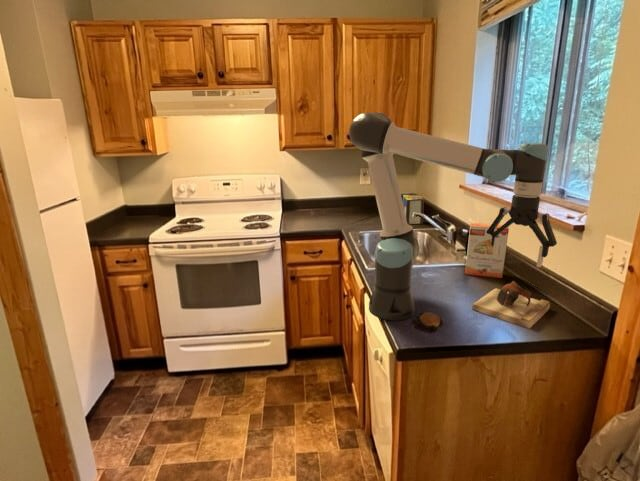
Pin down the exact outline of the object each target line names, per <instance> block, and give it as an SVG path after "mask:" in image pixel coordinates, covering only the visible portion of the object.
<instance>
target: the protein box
mask: <svg viewBox="0 0 640 481" xmlns="http://www.w3.org/2000/svg"><path fill="white" fill-rule="evenodd" d="M402 202H403V206H404V211H405V216H406V220H407V224H408V225H423V224H424V223H423V222H424V217H423V218H422V217H419V216H417V217H415V218H413V217H412V214H413V212H417V213H422V214H423V215H424V211H425V210H424V206H425V199H424V198H423V197H422V196H421V195H419V194H403V195H402Z"/></svg>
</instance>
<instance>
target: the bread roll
mask: <svg viewBox="0 0 640 481" xmlns="http://www.w3.org/2000/svg"><path fill="white" fill-rule="evenodd" d="M443 324H444V319H443V318H442V317H439V316H438V315H437V314H436V313H434V312H421V313H419V315H418V316H417V317H415V318H414V319H413V320H412V326H411V329H414V330H418V331H421V332H424V333H427V334H436V333H437V332H438V331H439V329H440V328H441V327H442V326H443Z"/></svg>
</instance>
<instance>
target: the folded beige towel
mask: <svg viewBox="0 0 640 481" xmlns="http://www.w3.org/2000/svg"><path fill="white" fill-rule="evenodd" d="M500 290H501V288H500V289H499V288H495V287H494V289H492V290H491V291H489V292H488V293H486V294H485V295H484V296H482V297H481V298H480V299H477V301H475V302H473V304H472V308H471V310H472V311H475V312H479V313H482V314H485V315H488V316H489V317H490V316H491V317H494V318H497V319H500V320H503V321H504V322H508V323H511V324H514V325H516V326H517V325H518V326H519V327H520V326H521V327H523V328H527V329H531V328H532V327H533V326H534V325H535V324H536V323H537V322H538V321H539V320H540V319H541V318H542V317H543V316H544V315H545V314H546V313H547V312H549V310H550V307H551V303H550V300H549V301H548V300H546V299H542V298H541V300H539V299H537V298H532V297H530V298H531V300H530V303H529V305H528V306H527V303H528V299H527V298H526V297H523V296H522V295H520V294H519V297H518V299H517V300H516V301H515V302H514V304H513V305H512V306H510V305H507V304H506V303H505V302H504V304H503V305H501V304H500V303H499V302H498V301H497V297H498V294H499V292H500ZM507 293H509V291H508V292H507Z"/></svg>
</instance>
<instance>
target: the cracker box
mask: <svg viewBox="0 0 640 481" xmlns="http://www.w3.org/2000/svg"><path fill="white" fill-rule="evenodd" d="M469 224H470V225H469V235H468V241H467V242H468V243H467V252H466V261H465V262H466V263H465V268H464V269H465V270H464V271H465V272H464V274H465V275H471V276H477V277H478V276H479V277H488V278H496V279H502V278H503V274H504V266H505V259H506V251H507V245H508V237H509V232H510V231H509V230H510V228H509V227H507V228H506V229H505V230H504V231H502V232H501V233H500V234H499V235H498V236H500V244H499V251H498V255H497V256H495V257H493V256H492V254H493V247H494V246H491V241H492V236H491V235H490V234H487V230H488V229H489V227H490V226H491V224H492V223H481V222H470V223H469ZM502 225H503V224H498V226H497V227H496V228H495V230H494V231H496V230H497V229H499V228H500V227H501V226H502Z"/></svg>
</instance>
